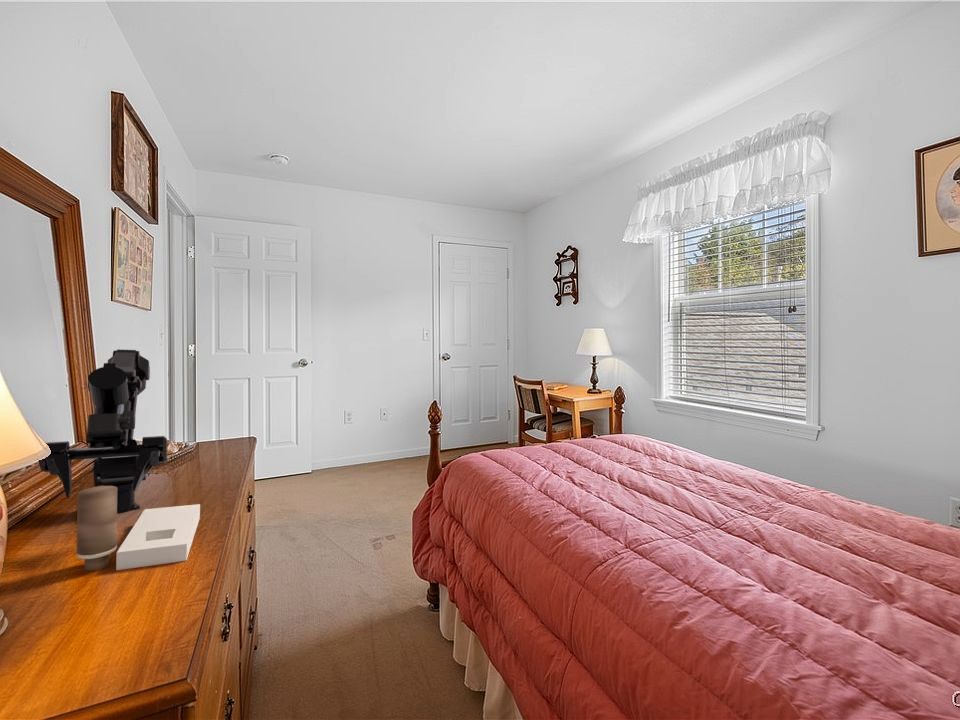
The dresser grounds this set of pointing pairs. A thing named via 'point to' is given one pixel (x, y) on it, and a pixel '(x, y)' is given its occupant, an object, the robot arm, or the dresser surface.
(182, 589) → the dresser surface
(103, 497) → the peg
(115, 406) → the robot arm
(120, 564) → the board
